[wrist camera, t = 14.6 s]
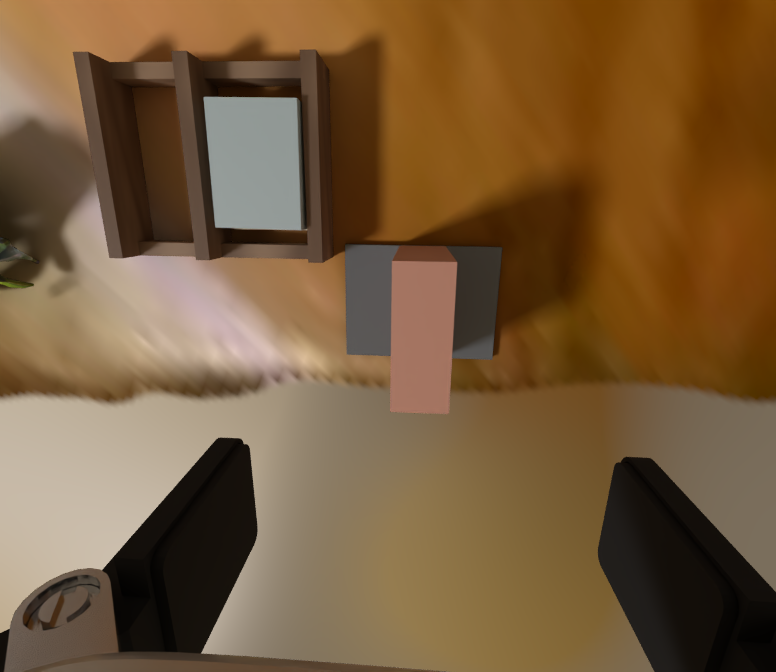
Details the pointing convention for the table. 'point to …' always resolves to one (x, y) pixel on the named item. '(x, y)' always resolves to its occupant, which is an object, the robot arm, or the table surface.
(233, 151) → the offcut upper
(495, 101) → the table surface
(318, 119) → the rack
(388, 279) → the slate mat
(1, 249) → the passion flower
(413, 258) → the pink rectangular block
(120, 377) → the table surface
